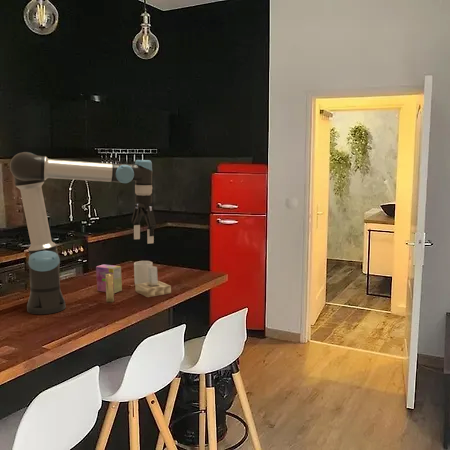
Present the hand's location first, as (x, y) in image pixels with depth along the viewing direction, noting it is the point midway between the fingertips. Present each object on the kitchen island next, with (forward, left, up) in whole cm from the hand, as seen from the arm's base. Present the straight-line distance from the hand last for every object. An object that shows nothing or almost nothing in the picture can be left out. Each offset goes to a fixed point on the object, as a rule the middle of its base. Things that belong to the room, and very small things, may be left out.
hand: (143, 241), depth 242 cm
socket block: (+3, -2, -24) cm, 24 cm away
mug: (+7, +14, -24) cm, 29 cm away
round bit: (-19, -4, -24) cm, 31 cm away
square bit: (+3, -2, -24) cm, 24 cm away
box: (-12, +13, -24) cm, 30 cm away
